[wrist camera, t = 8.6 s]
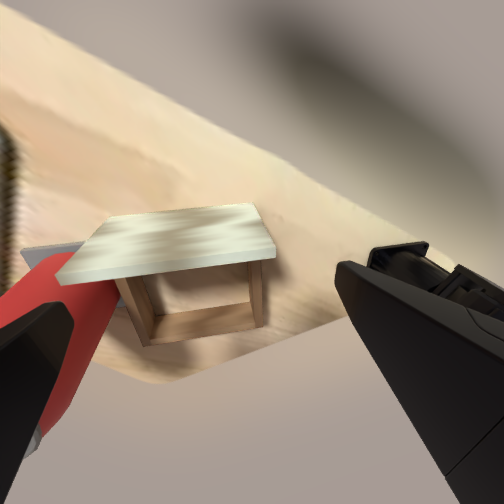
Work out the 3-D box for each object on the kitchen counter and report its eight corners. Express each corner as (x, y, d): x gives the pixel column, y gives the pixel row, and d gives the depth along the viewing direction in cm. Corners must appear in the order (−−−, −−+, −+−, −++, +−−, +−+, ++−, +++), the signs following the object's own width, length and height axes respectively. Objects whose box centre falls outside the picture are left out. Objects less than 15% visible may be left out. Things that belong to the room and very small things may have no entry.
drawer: (252, 202, 20) (275, 247, 13) (257, 306, 26) (275, 373, 20) (109, 216, 19) (54, 275, 12) (149, 323, 25) (128, 401, 18)
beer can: (39, 238, 18) (-173, 395, 8) (130, 260, 20) (54, 405, 10) (37, 301, 21) (-123, 479, 11) (118, 314, 23) (49, 473, 13)
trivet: (109, 238, 20) (107, 241, 19) (134, 301, 23) (133, 305, 23) (23, 248, 19) (19, 251, 19) (63, 312, 23) (60, 315, 22)
